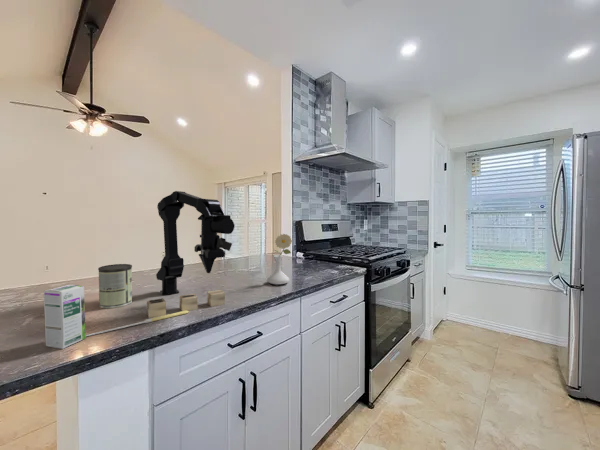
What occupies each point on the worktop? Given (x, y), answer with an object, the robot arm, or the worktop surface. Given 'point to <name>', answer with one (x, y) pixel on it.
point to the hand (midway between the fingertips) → (208, 273)
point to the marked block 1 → (156, 308)
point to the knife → (146, 321)
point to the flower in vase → (278, 275)
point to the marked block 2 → (188, 302)
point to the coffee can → (115, 285)
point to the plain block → (216, 298)
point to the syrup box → (64, 316)
